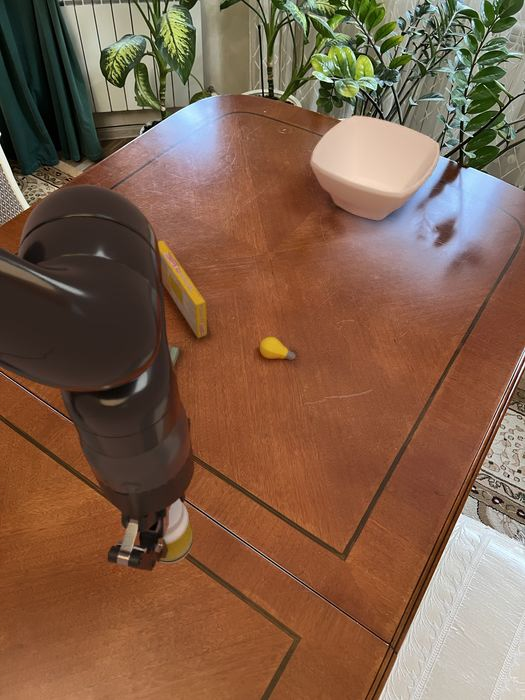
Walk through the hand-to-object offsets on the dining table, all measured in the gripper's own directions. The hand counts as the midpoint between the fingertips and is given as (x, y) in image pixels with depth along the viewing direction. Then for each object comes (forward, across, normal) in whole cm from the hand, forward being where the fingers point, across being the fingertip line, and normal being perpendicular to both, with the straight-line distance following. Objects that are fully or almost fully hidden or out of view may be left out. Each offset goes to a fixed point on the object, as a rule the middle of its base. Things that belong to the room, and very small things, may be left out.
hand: (165, 525), depth 55 cm
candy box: (+20, -44, -14) cm, 50 cm away
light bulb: (+20, -37, +4) cm, 42 cm away
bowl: (+19, -79, +14) cm, 83 cm away
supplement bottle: (+5, 0, 0) cm, 5 cm away
